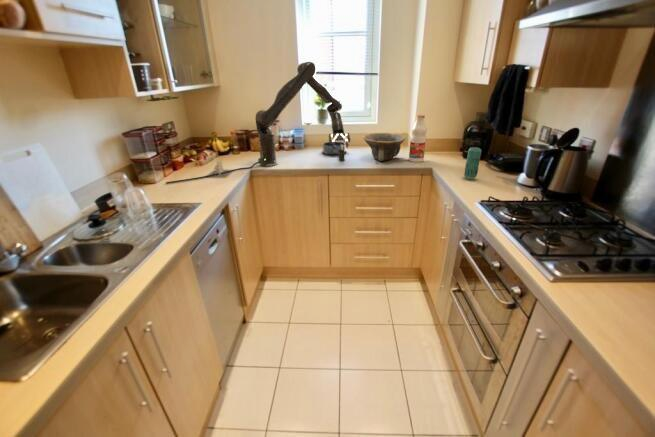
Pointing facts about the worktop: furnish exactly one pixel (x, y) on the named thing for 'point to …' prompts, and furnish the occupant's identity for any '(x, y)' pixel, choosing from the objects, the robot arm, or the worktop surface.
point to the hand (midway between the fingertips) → (340, 147)
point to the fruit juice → (418, 140)
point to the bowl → (384, 145)
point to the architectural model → (219, 170)
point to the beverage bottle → (473, 160)
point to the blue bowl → (330, 150)
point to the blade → (341, 153)
